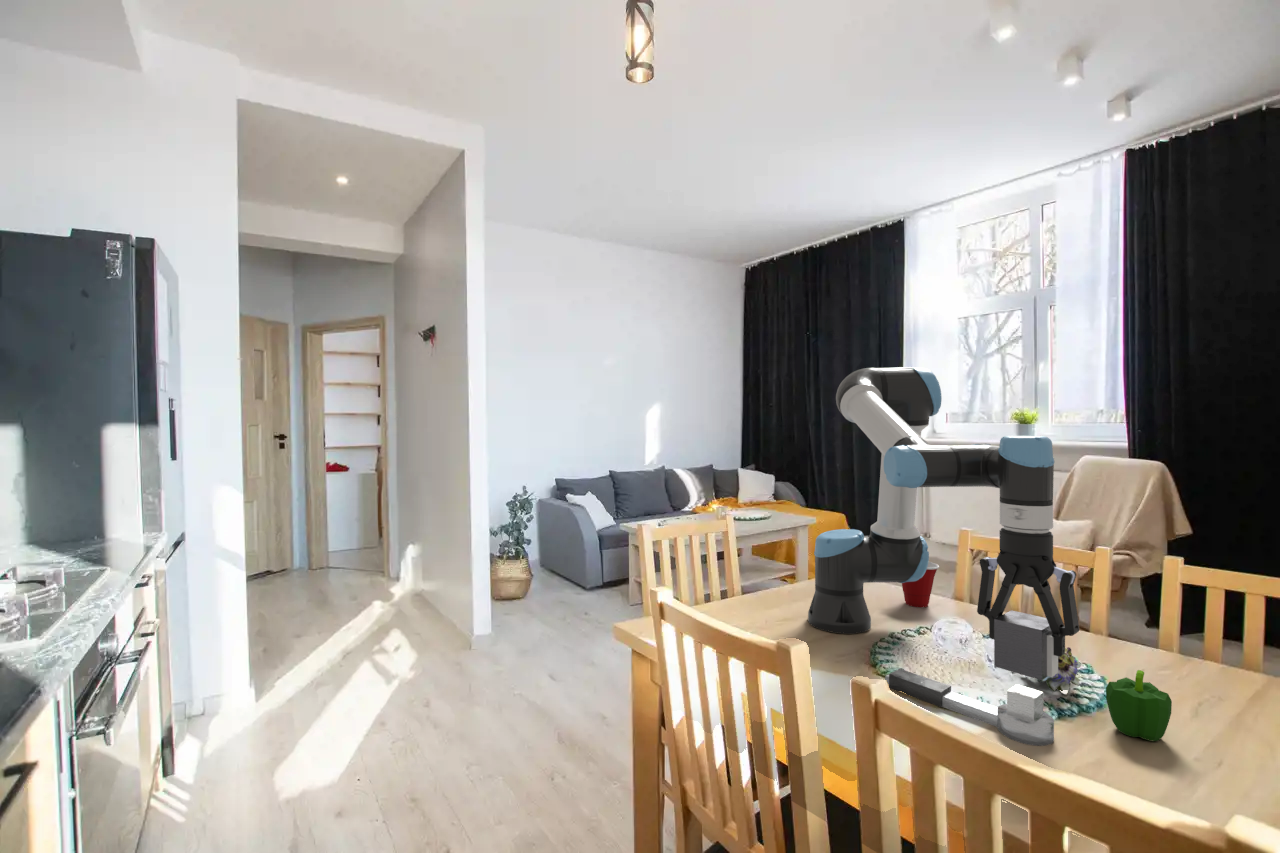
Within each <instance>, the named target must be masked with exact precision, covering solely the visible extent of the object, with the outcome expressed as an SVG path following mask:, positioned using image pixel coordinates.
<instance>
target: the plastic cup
mask: <svg viewBox="0 0 1280 853" xmlns="http://www.w3.org/2000/svg"><path fill="white" fill-rule="evenodd" d="M939 568H940V565H939V564H938V563H934V562H932V561H929V562H928V567H927V570H926V572H925V574H924V575H923V577H922V578H920V579H919V580H917V581H913V582H905V583H901V586H902V587H901V588H902V592H903V596H904V601H905V604H906V605H907V606H909V607H912V608H926V607H928V606H929V604H930V599H931V595H932V591H933V590H932V589H933V585H934V580H935V575H936V573H937V570H938V569H939Z"/></svg>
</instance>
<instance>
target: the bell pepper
mask: <svg viewBox="0 0 1280 853" xmlns="http://www.w3.org/2000/svg"><path fill="white" fill-rule="evenodd" d="M1144 676H1145V671H1144V670H1140V669H1138V670H1136V673H1135V680H1133V679H1131V678H1129V677H1122V678H1120V679H1117V680H1116V681H1109V682H1108V684H1107V685H1106V687H1105V700H1106V704H1107V708H1108V711H1109V714H1110V718H1111V721H1112V723H1113V725H1114V726H1115V728H1116V729H1117V731H1118V732H1120V733H1122V734H1124V735H1126V736H1129V737H1133V738H1137V737H1138V738H1141V739H1143V740H1147V741H1150V742H1158V741H1160V740H1161V739H1162V738H1163V737H1164V736H1165V733H1166V731H1167V730H1168V729H1167V728H1168V725H1169V723H1170V719H1171V716H1172V707H1173V706H1172V699H1171V697H1170V695H1169V693H1167V692H1165V691H1162V690H1161V689H1159V688H1158V687H1156V686H1155V685H1154V684H1152V683H1151V682H1147V681H1146V682H1144Z"/></svg>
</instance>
